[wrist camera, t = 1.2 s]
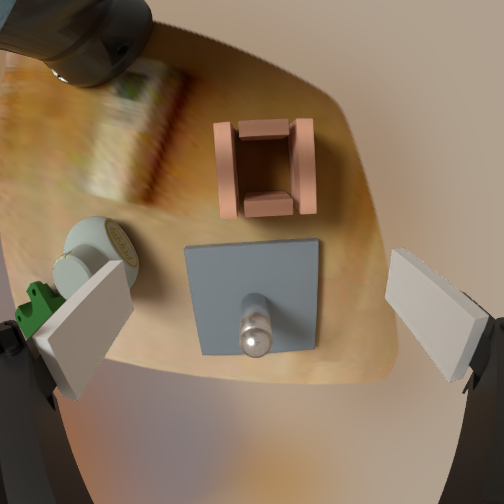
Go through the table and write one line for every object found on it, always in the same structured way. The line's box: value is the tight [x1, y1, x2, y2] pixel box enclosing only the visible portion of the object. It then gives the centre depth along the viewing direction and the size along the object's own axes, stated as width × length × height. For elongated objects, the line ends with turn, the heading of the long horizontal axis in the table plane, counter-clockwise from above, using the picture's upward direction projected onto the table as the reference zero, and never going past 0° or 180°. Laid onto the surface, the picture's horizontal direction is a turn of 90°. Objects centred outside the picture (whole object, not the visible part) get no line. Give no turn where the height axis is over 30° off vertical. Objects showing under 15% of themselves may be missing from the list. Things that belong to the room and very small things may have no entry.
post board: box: [184, 238, 318, 355], centre depth 37 cm, size 16×16×1 cm
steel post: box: [239, 293, 273, 358], centre depth 32 cm, size 4×4×10 cm
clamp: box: [15, 281, 67, 340], centre depth 35 cm, size 12×6×9 cm, turn 124°
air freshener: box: [53, 216, 139, 300], centre depth 30 cm, size 11×8×10 cm
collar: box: [213, 119, 317, 219], centre depth 28 cm, size 9×9×7 cm
